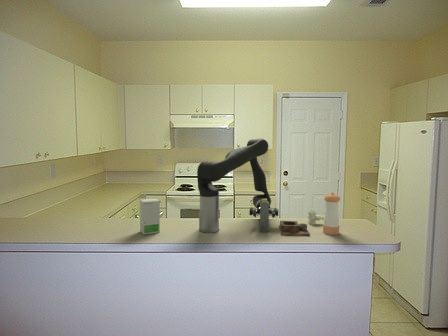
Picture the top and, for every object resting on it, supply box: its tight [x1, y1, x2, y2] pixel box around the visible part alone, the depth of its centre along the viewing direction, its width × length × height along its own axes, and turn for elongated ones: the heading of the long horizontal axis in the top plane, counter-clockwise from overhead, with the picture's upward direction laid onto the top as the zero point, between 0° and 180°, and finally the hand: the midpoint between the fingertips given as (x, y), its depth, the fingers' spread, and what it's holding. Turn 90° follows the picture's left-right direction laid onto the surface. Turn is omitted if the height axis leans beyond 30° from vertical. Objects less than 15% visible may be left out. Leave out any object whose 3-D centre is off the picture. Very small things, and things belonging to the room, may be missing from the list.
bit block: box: [278, 220, 311, 237], centre depth 152 cm, size 13×12×4 cm
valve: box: [307, 210, 325, 225], centre depth 164 cm, size 7×7×12 cm
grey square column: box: [259, 199, 270, 233], centre depth 152 cm, size 4×4×16 cm
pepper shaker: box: [322, 192, 341, 236], centre depth 150 cm, size 7×7×19 cm
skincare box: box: [139, 198, 161, 236], centre depth 151 cm, size 8×7×16 cm
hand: (264, 215), depth 152 cm, fingers open, 8 cm apart
